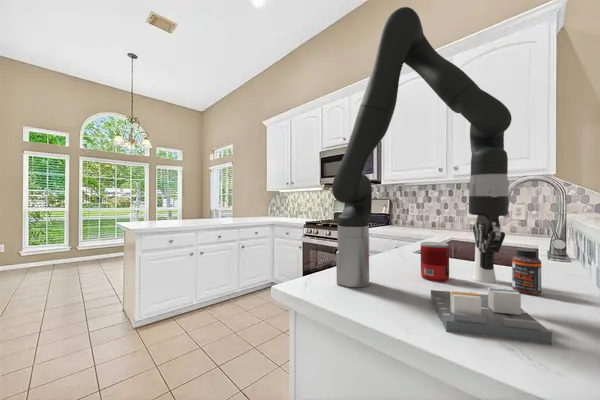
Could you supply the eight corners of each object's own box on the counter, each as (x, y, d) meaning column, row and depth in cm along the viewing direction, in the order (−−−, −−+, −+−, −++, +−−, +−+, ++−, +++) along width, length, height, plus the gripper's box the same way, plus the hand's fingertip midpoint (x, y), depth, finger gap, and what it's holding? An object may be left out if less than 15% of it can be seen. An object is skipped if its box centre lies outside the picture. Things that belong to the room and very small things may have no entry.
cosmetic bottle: (467, 277, 84) (466, 208, 85) (485, 276, 85) (484, 208, 85) (482, 283, 78) (481, 208, 79) (501, 282, 79) (500, 208, 79)
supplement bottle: (511, 292, 71) (510, 249, 71) (513, 286, 75) (512, 246, 75) (541, 297, 67) (540, 252, 67) (541, 291, 71) (541, 249, 71)
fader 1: (454, 316, 51) (453, 294, 51) (450, 310, 54) (450, 289, 54) (481, 319, 50) (481, 297, 50) (476, 313, 53) (476, 291, 53)
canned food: (453, 282, 80) (452, 245, 80) (424, 281, 81) (423, 245, 81) (444, 275, 87) (444, 241, 87) (418, 274, 89) (418, 241, 89)
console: (446, 331, 50) (446, 314, 50) (430, 297, 67) (430, 285, 67) (552, 344, 45) (552, 325, 45) (506, 304, 62) (506, 291, 62)
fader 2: (493, 312, 53) (493, 291, 53) (488, 306, 56) (487, 286, 56) (521, 314, 52) (521, 293, 52) (514, 308, 55) (513, 288, 55)
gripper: (461, 194, 69) (460, 261, 70) (479, 194, 57) (477, 275, 57) (495, 195, 67) (494, 263, 67) (521, 194, 55) (519, 278, 55)
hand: (486, 268), depth 62 cm, fingers closed
